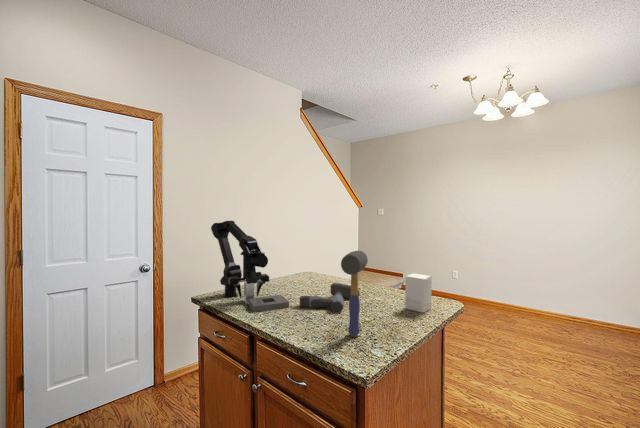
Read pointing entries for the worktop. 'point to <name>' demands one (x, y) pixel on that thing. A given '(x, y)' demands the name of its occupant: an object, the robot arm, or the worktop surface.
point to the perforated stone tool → (341, 289)
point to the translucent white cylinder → (248, 291)
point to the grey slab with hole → (268, 303)
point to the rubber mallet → (354, 286)
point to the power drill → (323, 302)
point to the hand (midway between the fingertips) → (249, 296)
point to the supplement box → (418, 292)
